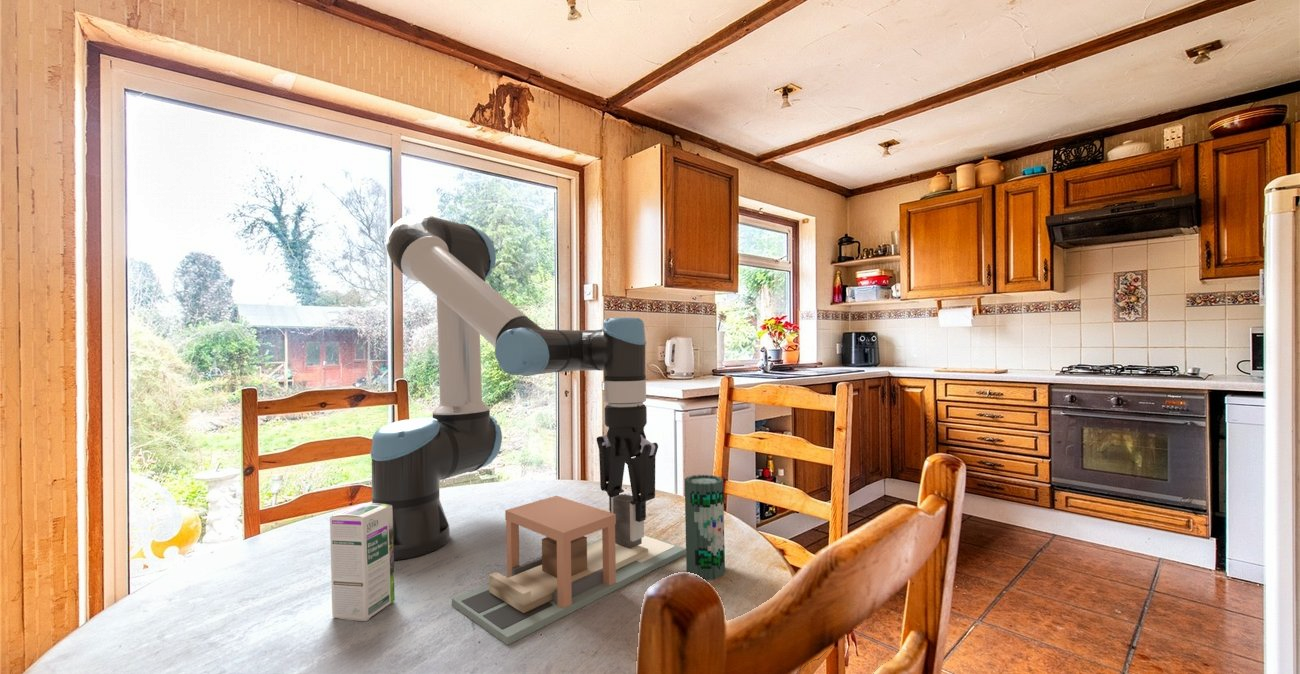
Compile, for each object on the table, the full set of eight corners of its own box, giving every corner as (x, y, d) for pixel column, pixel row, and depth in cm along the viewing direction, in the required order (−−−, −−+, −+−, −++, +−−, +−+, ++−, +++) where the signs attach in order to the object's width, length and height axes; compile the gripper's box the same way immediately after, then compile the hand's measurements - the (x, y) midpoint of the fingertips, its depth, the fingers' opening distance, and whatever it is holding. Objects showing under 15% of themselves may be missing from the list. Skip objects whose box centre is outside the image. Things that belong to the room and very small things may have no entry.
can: (706, 582, 79) (704, 486, 79) (679, 570, 83) (677, 479, 84) (731, 570, 83) (729, 479, 83) (704, 559, 87) (702, 472, 88)
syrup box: (366, 622, 69) (365, 516, 69) (329, 618, 70) (329, 514, 71) (395, 601, 75) (394, 503, 75) (361, 598, 76) (360, 501, 76)
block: (542, 570, 79) (541, 538, 79) (567, 560, 83) (567, 529, 83) (561, 580, 76) (561, 547, 76) (587, 569, 80) (586, 537, 80)
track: (451, 605, 73) (450, 525, 74) (626, 533, 100) (625, 475, 100) (507, 645, 63) (506, 553, 63) (686, 554, 90) (684, 489, 90)
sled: (489, 592, 75) (488, 531, 75) (616, 540, 94) (615, 491, 94) (523, 613, 69) (522, 546, 69) (652, 552, 88) (651, 501, 88)
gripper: (675, 405, 87) (678, 541, 87) (608, 399, 99) (610, 519, 98) (645, 409, 81) (648, 555, 81) (578, 402, 93) (580, 529, 93)
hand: (627, 535), depth 90 cm, fingers closed on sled, 4 cm apart
